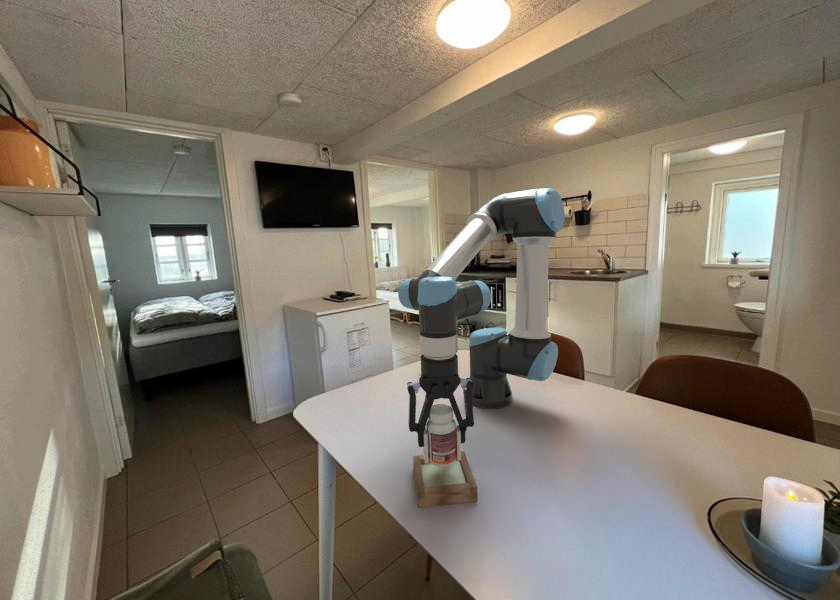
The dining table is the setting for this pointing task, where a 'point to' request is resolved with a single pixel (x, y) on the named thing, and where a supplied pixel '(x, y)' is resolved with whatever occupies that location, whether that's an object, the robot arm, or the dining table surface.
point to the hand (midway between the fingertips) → (442, 457)
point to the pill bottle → (441, 435)
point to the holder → (444, 482)
